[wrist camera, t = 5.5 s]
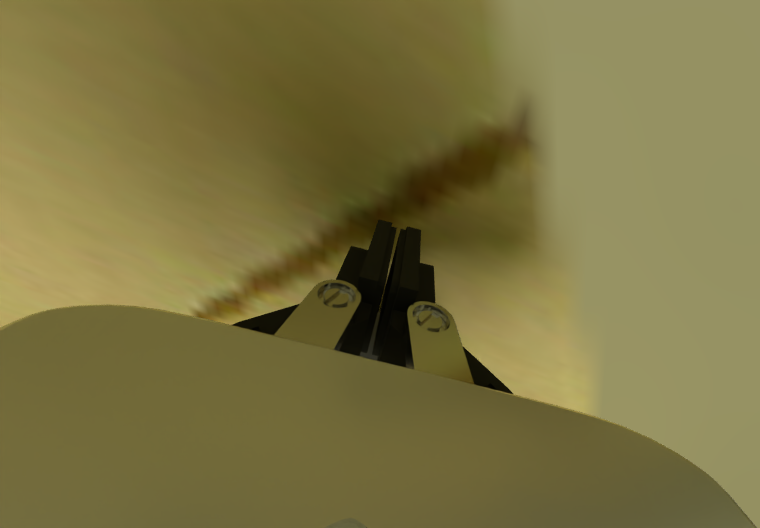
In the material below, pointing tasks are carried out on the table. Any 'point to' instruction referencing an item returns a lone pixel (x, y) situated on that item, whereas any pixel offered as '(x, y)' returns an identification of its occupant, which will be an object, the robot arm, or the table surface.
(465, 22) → the table surface
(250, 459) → the robot arm
